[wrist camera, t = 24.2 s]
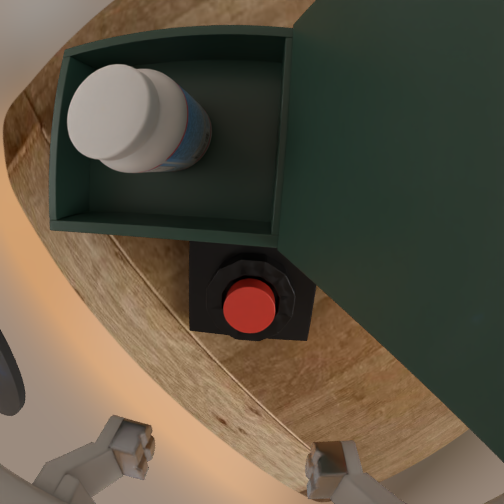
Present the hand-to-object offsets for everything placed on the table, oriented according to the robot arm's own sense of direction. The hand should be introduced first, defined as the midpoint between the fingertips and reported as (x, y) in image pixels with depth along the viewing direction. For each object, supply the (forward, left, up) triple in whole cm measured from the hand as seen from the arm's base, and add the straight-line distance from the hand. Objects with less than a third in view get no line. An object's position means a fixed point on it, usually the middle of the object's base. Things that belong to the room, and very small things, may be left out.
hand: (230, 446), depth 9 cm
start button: (0, 0, -14) cm, 14 cm away
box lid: (+4, +12, -2) cm, 13 cm away
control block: (0, 0, -17) cm, 17 cm away
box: (-7, +12, -17) cm, 22 cm away
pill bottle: (-7, +12, -16) cm, 22 cm away
